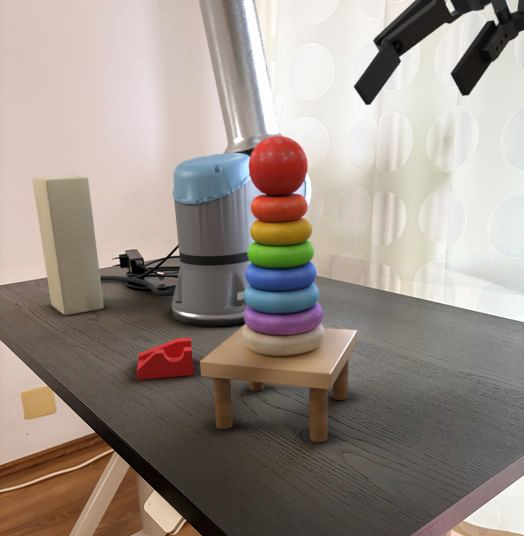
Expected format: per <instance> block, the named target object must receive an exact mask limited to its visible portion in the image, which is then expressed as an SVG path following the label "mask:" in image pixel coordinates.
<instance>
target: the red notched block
mask: <svg viewBox="0 0 524 536" xmlns="http://www.w3.org/2000/svg"><path fill="white" fill-rule="evenodd" d="M137 356H138V357H137V359H138V362H137V368H136V376H137V380H139V381H140V380H149V379H160V378H161V379H162V378H173V377H185V376H194V375H195V372H194V370H195V369H194V359H193V346H192V337H180V338H175V339H173V340H170V341H167V342H165V343H162V344H160V345H157V346H155V347H152V348H149V349H147V350H144V351H142V352H139V353H138V355H137Z"/></svg>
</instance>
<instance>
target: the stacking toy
mask: <svg viewBox="0 0 524 536" xmlns="http://www.w3.org/2000/svg"><path fill="white" fill-rule="evenodd" d="M283 136H284V135H283ZM283 136H274V137H269V138H267V139H265V140H263V141H261V142H260V143H259V144H258V145H257V146H256V147H255V148H254V150H253V151H252V153H251V156H250V159H249V174H250V178H251V180H252V182H253V184H254V185H255V187H256V188H257V189H258V190H259V191H260V192H261V193H264V194H263V195H259V196H257V197H255V198H254V199H253V201H252V203H251V212H252V214H253V215H254V217H256V218H257V219H258V220H256V221H255V222H253V224H252V225H251V228H250V234H251V237H252V239H253V240H254V241H255V242H253V243H252V244H251V245H250V246H249V248H248V251H247V254H248V258H249V260H250V262H251V264H250V265H249V266H248V267H247V269H246V272H245V276H246V280H247V282H248V283H249V285H248V286H247V287H246V288H245V291H244V300H245V302H246V304H247V305H248V306H247V308H246V309H245V311H244V320H245V323H244V325H245V324H246V325H245V327H244V328H243V330H242V333H241V338H242V341H243V343H244V345H245V346H246V347H247V348H248V349H250V350H252V351H254V352H256V353H260V354H264V355H271V356H289V355H297V354H302V353H305V352H308V351H311V350H313V349H315V348H317V347H318V346H320V345H321V344H322V342H323V341H324V338H325V330H324V328H325V327H324V325H322V321H323V319H324V309H323V307H322V306H321V304H320V303H319V302H318V300H319V297H320V290H319V288H318V286H317V285H316V283H314V282H315V280H316V278H317V276H318V275H317V274H318V273H317V272H318V271H317V267H316V265H315V264H314V263H313V262H312V260H313V258H314V255H315V248H314V245H313V244H312V242H311V241H309V239H310V238H311V236H312V234H313V226H312V223H311V221H309V220H308V219H306V217H305V218H304V216H305V215H306V214H307V212H308V208H309V205H308V204H307V200H306V199H305V198H304V197H303V196H302V195H300V194H295V193H294V192H296V191H297V190H298V189H299V188H300V187H301V185H302V184H303V182H304V180H305V178H306V175H307V174H308V168H309V162H308V158H307V155H306V152H305V150H304V149H303V147H302V146H301V144H300V143H299V142H297V141H296V140H294V139H292V138H290V137H288V136H284V137H283Z"/></svg>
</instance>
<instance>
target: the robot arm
mask: <svg viewBox="0 0 524 536" xmlns="http://www.w3.org/2000/svg"><path fill="white" fill-rule="evenodd" d="M449 2H450V3H451V6H452V8H453V11H450V9H449V8H448V0H414V1H413V2H412V3H410V5H408V6H407V7H406V8H405V9H404V10H403V11H402V12H401V13H399V14H398V16H397V17H396V18H395V19H393V20H392V21H391V22H390V23H389V24H388V25H387V26H386V27H385V28H384V29H382V30H381V31H380V32H379V33H378V35H376V36H375V37H374V38H373V40H372V42H373V44H374V45H375V47H376V50H378V52H377V53H376V55H375V56H374V57H373V59H372V60H371V62H370V63H369V64H368V66H367V67H366V69H365V70H364V71H363V72H362V74H361V76H360V77H359V78H358V80H357V81H356V82H355V83H354V85H353V88H354V90H355V91H356V93H357V94H358V96H359V97H360V99H361V100H362V102H363V103H364V104H365V106H369V105H371V104H372V103H373V102H374V101H375V99H376V98H377V96H378V95H379V94H380V92H381V90H382V89H384V86H385V85H386V84H387V82H388V81H389V80H390V78H391V77H392V76H393V74H394V73H395V71H396V70H397V68H398V67H399V66H400V65H401V62H402V60H401V58H400V57H402V56H404V54H406V53H407V52H408V51H410V50H411V49H412V48H414V47H415V46H416V45H418V44H419V43H420V42H422V41H424V39H426V38H428V36H430V35H431V34H433V33H434V32H436V30H438V29H439V28H441V27H442V26H443V25H444V24H448V25H451V24H452V23H454V22H455V21H457V20H458V19H459V18H461V17H463V16H464V15H466V14H469V13H470V12H479V11H483V10H485V9H486V7H489V6H491V5H492V9H493V13H494V16H495V19H496V21H497V24H496V22H495V20H494V19H491V20H487V21H485V23H484V25H483V26H482V27H481V29H480V31H479V32H478V33H477V35H476V36H475V37H474V39H473V40H472V42H471V43H470V45H469V46H468V48H467V49H466V51H465V52H464V53H463V55H462V56H461V58H460V59H459V60H458V62H457V63H456V65H455V66H454V68H453V69H452V70H451V72H450V76H451V78H452V80H453V81H454V83H455V85H456V87H457V89H458V91H459V92H460V94H461V96H462V97H465V96H466V97H467V96H470V94H471V93H472V92H473V90H474V88H475V87H476V86H477V84H478V83H479V82H480V80H481V78H482V77H483V75H484V74H485V73H486V71H487V70H488V68H489V67H490V66H491V64H492V63H494V62H495V61H496V60H497V59H498V58H499V57H500V55H501V54H502V52H503V51H504V50H505V48H506V47H507V46H508V44H509V42H512V41H513V40H515V39H516V38H517V37H518V36H519V34H520V33H521V32H523V31H524V0H518V1H517V10H515V11H513V12H512V10H511V7H510V5H509V1H508V0H449ZM198 5H199V9H200V14H201V19H202V24H203V28H204V33H205V39H206V43H207V47H208V48H207V49H208V52H209V53H208V54H209V58H210V62H211V68H212V72H213V77H214V82H215V88H216V92H217V96H218V101H219V102H218V103H219V106H220V107H219V108H220V111H221V116H222V121H223V125H224V131H225V135H226V140H227V145H226V148H225V150H224V151H223V153H218V154H217V153H216V154H211V155H203V156H199V157H193V158H190V159H187V160H184V161H182V162H180V163H179V164H177V166H176V167H175V168H174V170H173V175H172V176H173V189H172V198H173V201H174V212H175V222H176V234H177V244H178V245H177V246H178V253H179V254H178V255H179V271H178V274H177V279H176V284H175V289H173V290H159V289H157V288H156V286H155V285H154V283H152V282H150V281H149V280H148V281H147V280H145V279H141V278H138V277H137V278H136V277H131V278H129V276H122V275H121V276H120V275H100V280H101V282H108V281H109V282H125V283H133V284H138V285H142V286H144V287H147V288H149V289H150V291H151V292H152V293H153V295H156V296H158V297H172V301H171V311H172V312H171V313H172V317H173V318H174V320H175V321H178V322H181V323H184V324H187V325H192V326H200V327H201V326H202V327H203V326H204V327H222V326H223V327H224V326H231V325H232V326H234V325H238V324H241V325H242V324H246V323H245V320H244V311H245V309H246V308H247V306H248V305H247V304H246V302H245V300H244V291H245V288H246V287H247V286H248V285H249V283H248V282H247V280H246V276H245V272H246V269H247V267H248V266H249V265H250V264H251V262H250V260H249V258H248V254H247V251H248V248H249V246H250V245H251V244H252V243H253V242H255V241H254V240H253V239H252V237H251V234H250V228H251V225H252V224H253V222H255V221H256V220H258V219H257V218H256V217H254V215H253V214H252V212H251V203H252V201H253V199H254V198H255V197H257V196H259V195H263V194H264V193H261V192H260V191H259V190H258V189H257V188H256V187H255V185H254V184H253V182H252V180H251V178H250V174H249V159H250V156H251V153H252V151H253V150H254V148H255V147H256V146H257V145H258V144H259V143H260V142H261V141H263V140H265V139H267V138H269V137H274V136H283V137H285V136H284V135H283V134H282V133H281V132H280V127H279V122H278V118H277V117H278V116H277V112H276V106H275V100H274V96H273V95H274V94H273V90H272V89H273V88H272V84H271V80H270V79H271V78H270V74H269V69H268V68H269V67H268V63H267V57H266V52H265V47H264V42H263V36H262V30H261V25H260V19H259V14H258V9H257V3H256V0H198ZM294 193H295V194H300V195H302V196H303V197H304V198H305V199H306V200H307V204H308V206H309V205H310V202H311V197H312V185H311V179H310V177H309V174H308V173H307V175H306V178H305V180H304V182H303V184H302V185H301V187H300V188H299V189H298V190H297V191H296V192H294Z"/></svg>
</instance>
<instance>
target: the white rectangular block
mask: <svg viewBox="0 0 524 536" xmlns="http://www.w3.org/2000/svg"><path fill="white" fill-rule="evenodd" d="M31 180H32V187H33V193H34V200H35V206H36V207H35V208H36V213H37V221H38V225H39V226H38V227H39V232H40V233H39V234H40V238H41V240H40V241H41V247H42V252H43V259H44V265H45V272H46V278H47V285H48V293H49V299H50V303H51V307H53V308H55V309H56V310H57V311H58V312H60V313H61V314H62V315H64V316H70V315H74V314H81V313H85V312H91V311H96V310H102V309H104V299H103V289H102V281H101V280H100V276H101V273H100V265H99V257H98V247H97V240H96V232H95V224H94V223H95V222H94V216H93V207H92V200H91V190H90V189H91V188H90V182H89V178H88V177H86V176H79V175H70V174H69V175H55V176H37V177H32V179H31Z"/></svg>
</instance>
